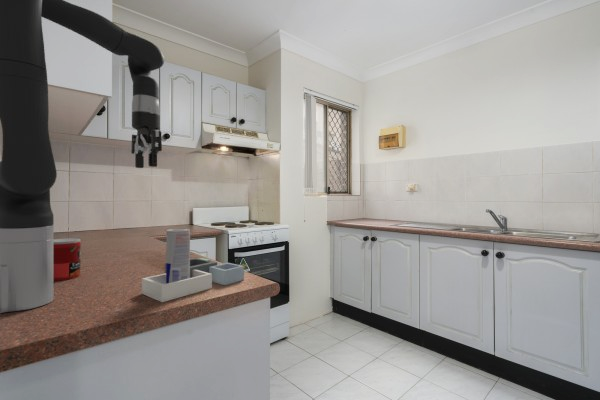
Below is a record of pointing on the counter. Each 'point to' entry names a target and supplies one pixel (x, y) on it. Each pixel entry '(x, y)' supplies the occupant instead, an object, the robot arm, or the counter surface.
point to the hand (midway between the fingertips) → (146, 167)
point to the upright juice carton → (177, 255)
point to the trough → (175, 286)
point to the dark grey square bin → (199, 265)
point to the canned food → (66, 258)
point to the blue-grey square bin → (227, 273)
